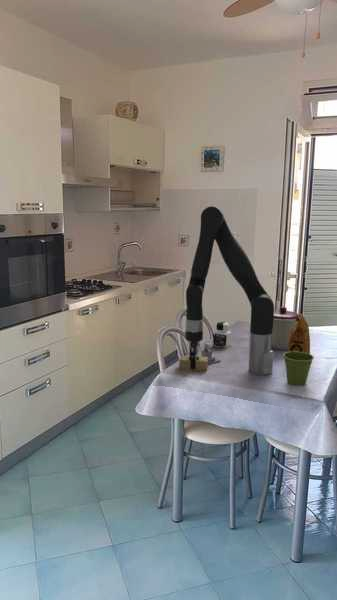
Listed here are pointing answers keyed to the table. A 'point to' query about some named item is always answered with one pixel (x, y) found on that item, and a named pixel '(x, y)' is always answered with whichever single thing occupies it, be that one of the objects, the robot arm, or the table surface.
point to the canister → (282, 328)
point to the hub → (208, 354)
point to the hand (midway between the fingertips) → (193, 366)
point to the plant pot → (297, 367)
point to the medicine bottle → (222, 335)
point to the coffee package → (299, 337)
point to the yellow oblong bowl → (200, 363)
